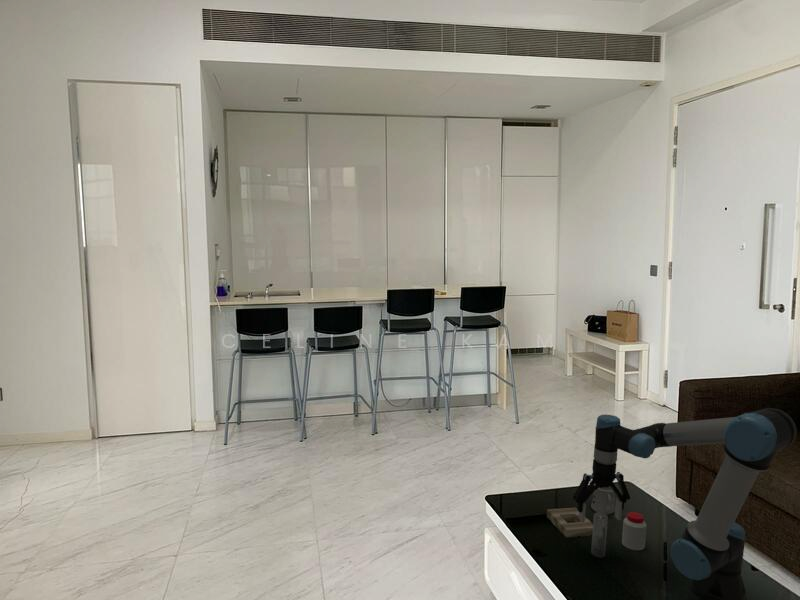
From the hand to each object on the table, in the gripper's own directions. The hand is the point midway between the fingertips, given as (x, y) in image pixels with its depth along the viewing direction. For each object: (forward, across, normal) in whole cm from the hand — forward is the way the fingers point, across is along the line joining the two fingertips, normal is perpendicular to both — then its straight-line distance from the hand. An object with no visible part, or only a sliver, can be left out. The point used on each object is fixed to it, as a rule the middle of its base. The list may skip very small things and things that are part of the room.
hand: (599, 519), depth 205 cm
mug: (+13, -19, -28) cm, 37 cm away
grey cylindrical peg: (+12, 0, 0) cm, 12 cm away
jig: (+13, 0, -20) cm, 23 cm away
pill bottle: (+12, -16, -4) cm, 21 cm away
